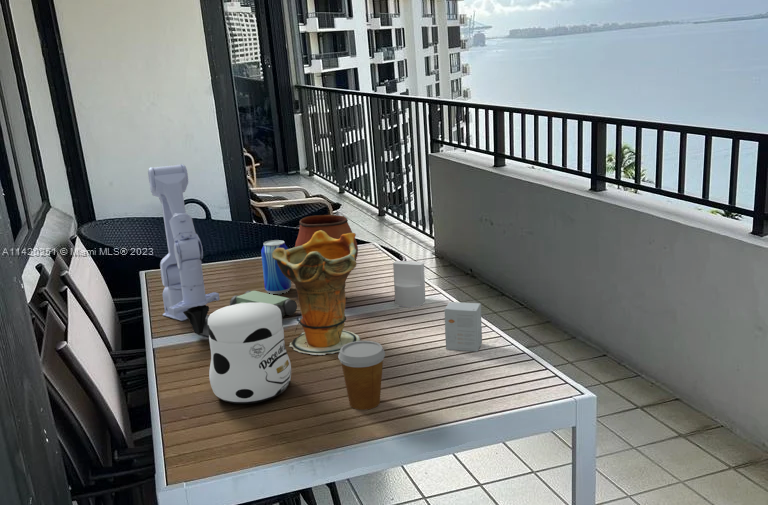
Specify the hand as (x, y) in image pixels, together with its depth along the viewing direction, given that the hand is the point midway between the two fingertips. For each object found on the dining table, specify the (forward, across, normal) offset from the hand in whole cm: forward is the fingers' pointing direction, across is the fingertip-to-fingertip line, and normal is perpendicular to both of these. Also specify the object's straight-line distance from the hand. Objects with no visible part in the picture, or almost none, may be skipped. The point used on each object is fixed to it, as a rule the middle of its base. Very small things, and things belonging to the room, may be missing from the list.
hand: (198, 333), depth 181 cm
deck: (+1, +22, 0) cm, 22 cm away
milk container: (+2, -14, -37) cm, 40 cm away
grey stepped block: (+1, +6, 0) cm, 6 cm away
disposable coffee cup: (+2, -5, -61) cm, 61 cm away
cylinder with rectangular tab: (+2, +52, -32) cm, 61 cm away
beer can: (+2, +40, +11) cm, 41 cm away
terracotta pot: (+2, +42, -9) cm, 43 cm away
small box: (+2, +31, -63) cm, 70 cm away
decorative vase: (+2, +16, -31) cm, 35 cm away
